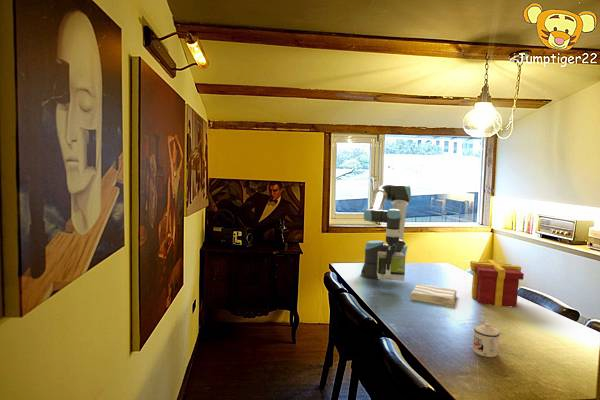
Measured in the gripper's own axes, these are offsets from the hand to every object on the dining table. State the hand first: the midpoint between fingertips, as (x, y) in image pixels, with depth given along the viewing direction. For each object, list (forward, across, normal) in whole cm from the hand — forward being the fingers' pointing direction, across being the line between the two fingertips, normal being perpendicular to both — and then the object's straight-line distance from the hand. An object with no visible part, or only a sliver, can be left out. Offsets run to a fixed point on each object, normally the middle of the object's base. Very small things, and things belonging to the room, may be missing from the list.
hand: (390, 272), depth 234 cm
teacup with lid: (+9, -64, -52) cm, 83 cm away
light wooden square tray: (+10, 0, -25) cm, 27 cm away
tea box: (+3, 0, 0) cm, 3 cm away
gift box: (+11, +14, -55) cm, 58 cm away
